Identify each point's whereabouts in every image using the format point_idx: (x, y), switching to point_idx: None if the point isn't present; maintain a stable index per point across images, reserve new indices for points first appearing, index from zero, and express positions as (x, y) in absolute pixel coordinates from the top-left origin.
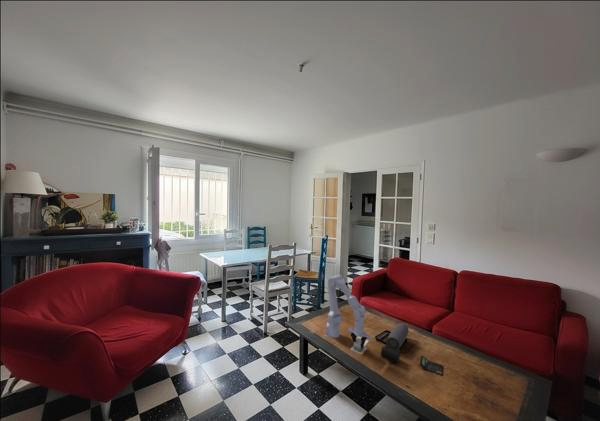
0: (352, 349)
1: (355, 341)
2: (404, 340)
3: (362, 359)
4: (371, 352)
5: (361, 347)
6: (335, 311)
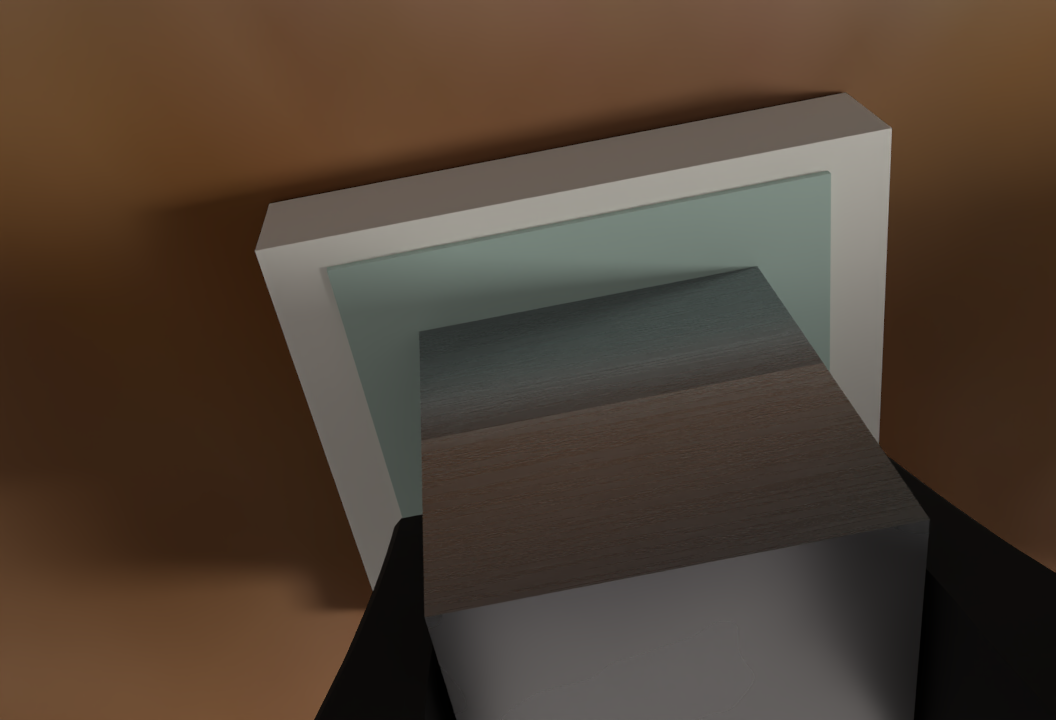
0: (794, 204)
1: (851, 600)
2: None
3: (117, 58)
4: (226, 635)
5: None
6: None
